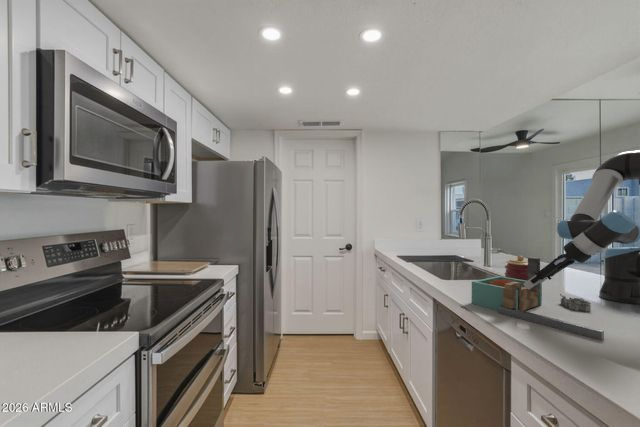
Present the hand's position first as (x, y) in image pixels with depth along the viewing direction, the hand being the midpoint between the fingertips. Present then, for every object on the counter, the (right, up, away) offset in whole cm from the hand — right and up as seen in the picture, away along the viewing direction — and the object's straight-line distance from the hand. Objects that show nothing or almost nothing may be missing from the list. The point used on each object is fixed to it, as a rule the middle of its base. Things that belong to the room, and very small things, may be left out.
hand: (528, 286), depth 120 cm
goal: (-5, -9, +7) cm, 12 cm away
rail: (-5, -9, -16) cm, 19 cm away
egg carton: (+21, -10, +4) cm, 24 cm away
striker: (-3, -9, -2) cm, 9 cm away
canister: (+14, -9, +26) cm, 31 cm away
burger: (-5, -9, +7) cm, 13 cm away
